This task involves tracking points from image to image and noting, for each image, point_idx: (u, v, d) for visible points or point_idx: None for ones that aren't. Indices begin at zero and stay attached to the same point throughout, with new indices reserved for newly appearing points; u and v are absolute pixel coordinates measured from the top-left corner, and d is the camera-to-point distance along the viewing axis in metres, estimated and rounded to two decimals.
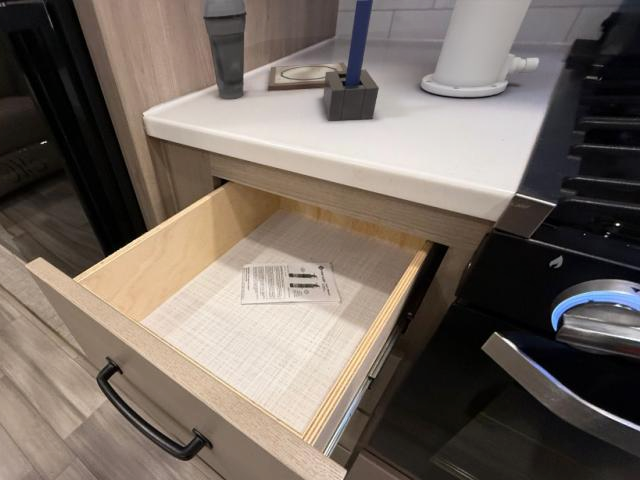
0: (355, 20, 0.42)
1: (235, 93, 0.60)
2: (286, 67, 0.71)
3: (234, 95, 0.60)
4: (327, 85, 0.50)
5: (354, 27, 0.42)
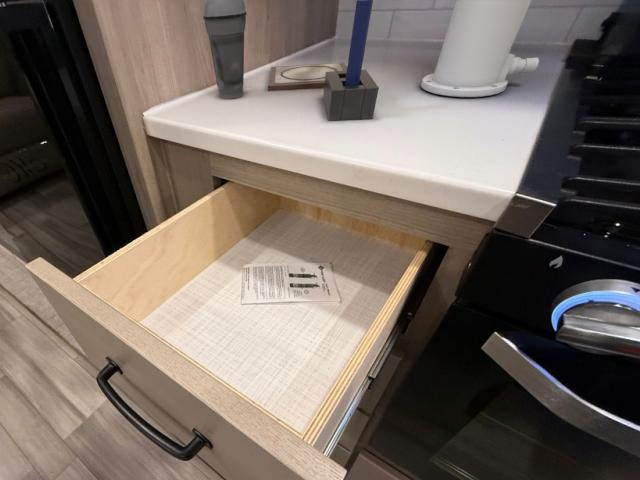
0: (355, 20, 0.42)
1: (235, 93, 0.60)
2: (286, 67, 0.71)
3: (234, 95, 0.60)
4: (327, 85, 0.50)
5: (354, 27, 0.42)
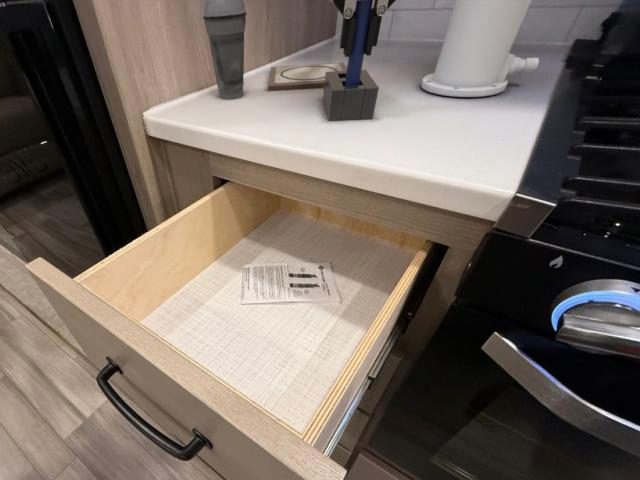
0: None
1: (235, 93, 0.60)
2: (286, 67, 0.71)
3: (234, 95, 0.60)
4: (327, 85, 0.50)
5: None
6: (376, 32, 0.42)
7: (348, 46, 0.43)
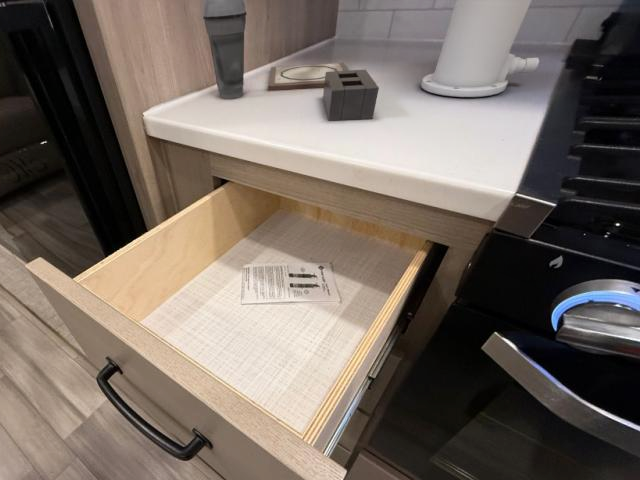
0: None
1: (235, 93, 0.60)
2: (286, 67, 0.71)
3: (234, 95, 0.60)
4: (327, 85, 0.50)
5: None
6: None
7: None
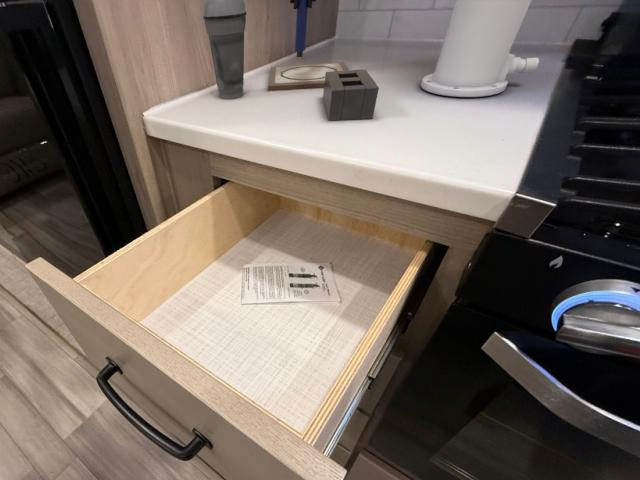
0: None
1: (235, 93, 0.60)
2: (286, 67, 0.71)
3: (234, 95, 0.60)
4: (327, 85, 0.50)
5: None
6: None
7: (294, 0, 0.58)
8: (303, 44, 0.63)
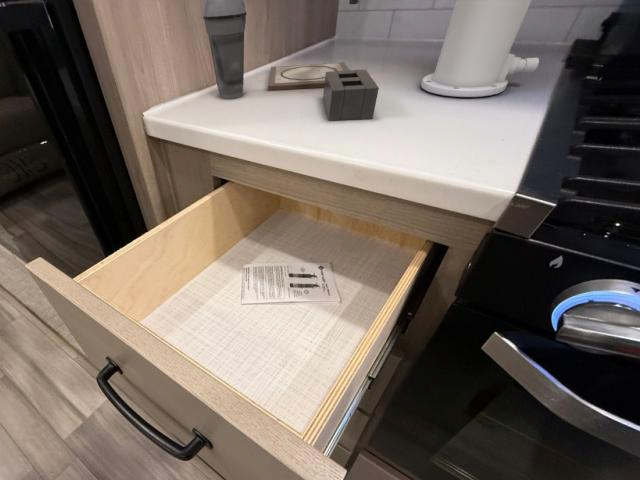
0: None
1: (235, 93, 0.60)
2: (286, 67, 0.71)
3: (234, 95, 0.60)
4: (327, 85, 0.50)
5: None
6: None
7: None
8: None
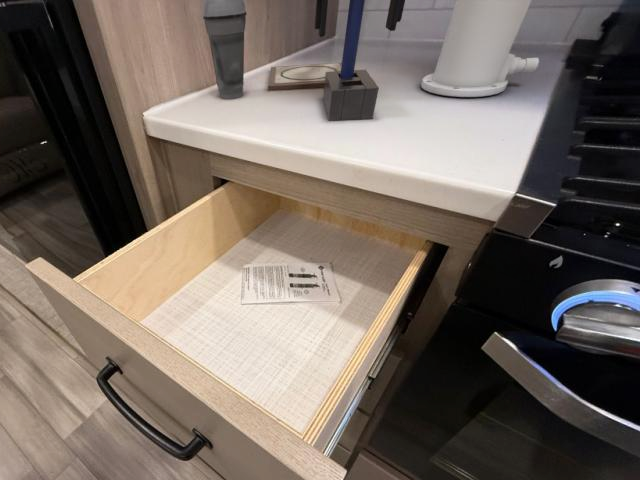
0: (349, 16, 0.45)
1: (235, 93, 0.60)
2: (286, 67, 0.71)
3: (234, 95, 0.60)
4: (327, 85, 0.50)
5: (348, 23, 0.45)
6: (401, 7, 0.44)
7: (321, 26, 0.45)
8: None
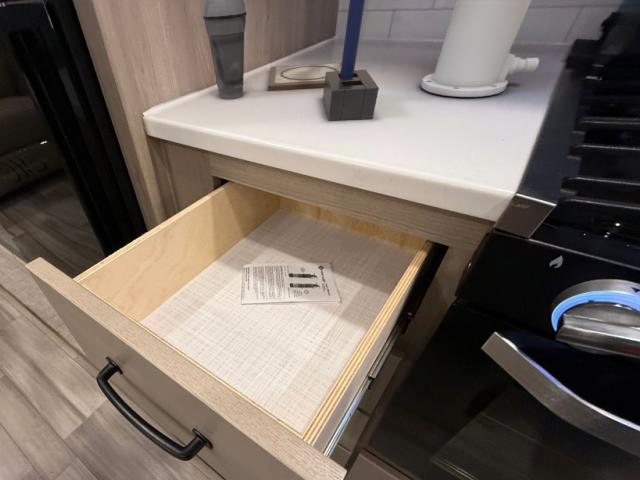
0: (349, 16, 0.45)
1: (235, 93, 0.60)
2: (286, 67, 0.71)
3: (234, 95, 0.60)
4: (327, 85, 0.50)
5: (348, 23, 0.45)
6: None
7: None
8: None
